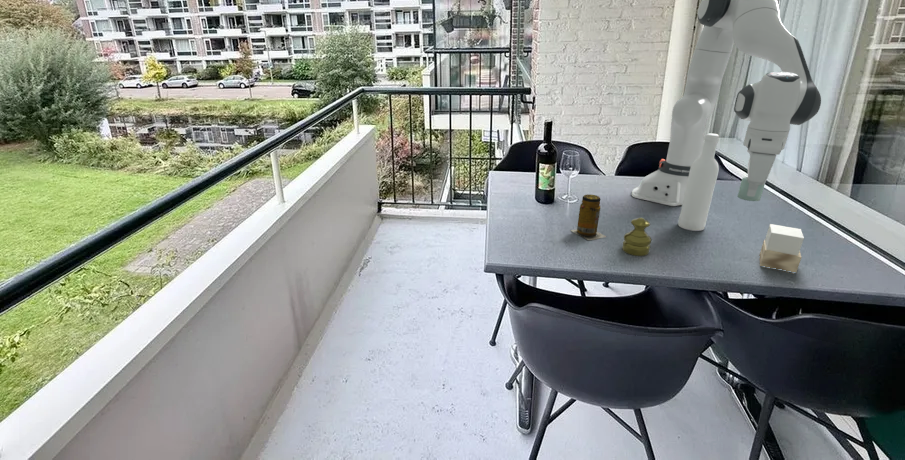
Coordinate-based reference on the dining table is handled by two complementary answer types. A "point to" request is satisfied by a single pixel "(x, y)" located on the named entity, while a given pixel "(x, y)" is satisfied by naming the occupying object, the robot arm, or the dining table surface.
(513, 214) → the dining table surface
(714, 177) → the bottle
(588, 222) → the condiment
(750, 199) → the pale green rounded block
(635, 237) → the yellow tiered cone
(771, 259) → the tower base
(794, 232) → the tower top
